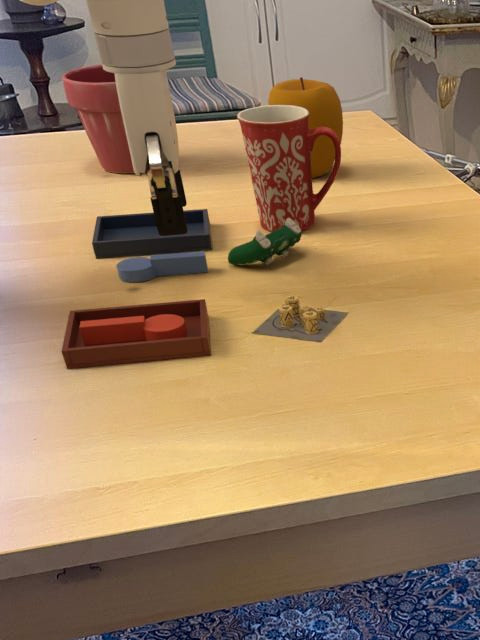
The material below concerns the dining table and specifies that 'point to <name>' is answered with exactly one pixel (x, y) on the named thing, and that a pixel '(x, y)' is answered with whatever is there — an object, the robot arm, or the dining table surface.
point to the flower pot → (100, 115)
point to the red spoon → (132, 329)
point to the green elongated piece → (266, 245)
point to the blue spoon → (161, 266)
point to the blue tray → (148, 235)
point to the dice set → (300, 321)
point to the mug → (284, 163)
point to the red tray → (143, 349)
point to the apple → (314, 115)
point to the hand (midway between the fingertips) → (173, 220)
